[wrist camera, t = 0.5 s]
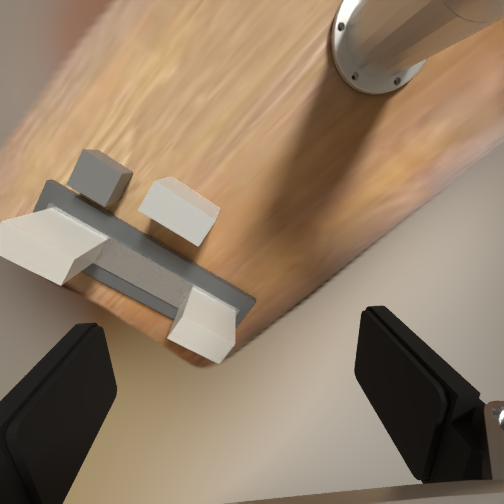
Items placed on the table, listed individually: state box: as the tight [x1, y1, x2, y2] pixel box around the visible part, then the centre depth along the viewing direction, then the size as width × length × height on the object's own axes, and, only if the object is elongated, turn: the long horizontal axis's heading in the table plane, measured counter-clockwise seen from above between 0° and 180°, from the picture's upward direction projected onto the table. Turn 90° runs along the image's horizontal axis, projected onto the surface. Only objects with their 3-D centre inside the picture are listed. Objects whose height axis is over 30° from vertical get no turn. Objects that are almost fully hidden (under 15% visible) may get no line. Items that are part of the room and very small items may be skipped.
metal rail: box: [47, 202, 240, 315], centre depth 40 cm, size 5×31×1 cm, turn 55°
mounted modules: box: [0, 208, 236, 364], centre depth 36 cm, size 4×30×8 cm, turn 55°
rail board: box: [33, 180, 256, 329], centre depth 41 cm, size 10×34×1 cm, turn 55°
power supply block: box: [67, 149, 133, 207], centre depth 34 cm, size 5×5×4 cm
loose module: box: [138, 176, 220, 247], centre depth 34 cm, size 4×8×8 cm, turn 55°
